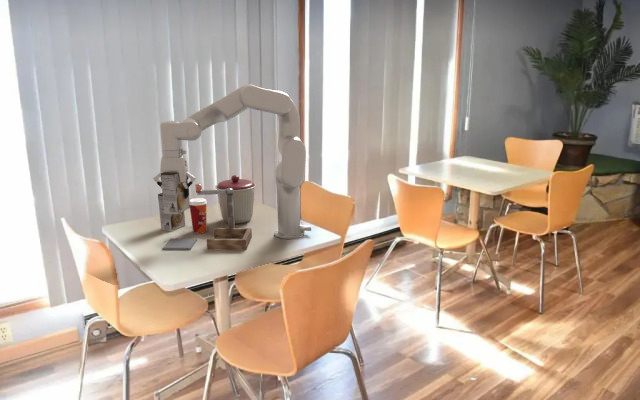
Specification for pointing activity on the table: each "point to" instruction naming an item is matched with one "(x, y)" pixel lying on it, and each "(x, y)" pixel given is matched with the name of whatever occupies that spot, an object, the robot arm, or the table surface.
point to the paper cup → (198, 214)
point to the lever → (212, 191)
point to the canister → (237, 198)
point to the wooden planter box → (230, 233)
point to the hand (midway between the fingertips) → (176, 197)
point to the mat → (180, 244)
